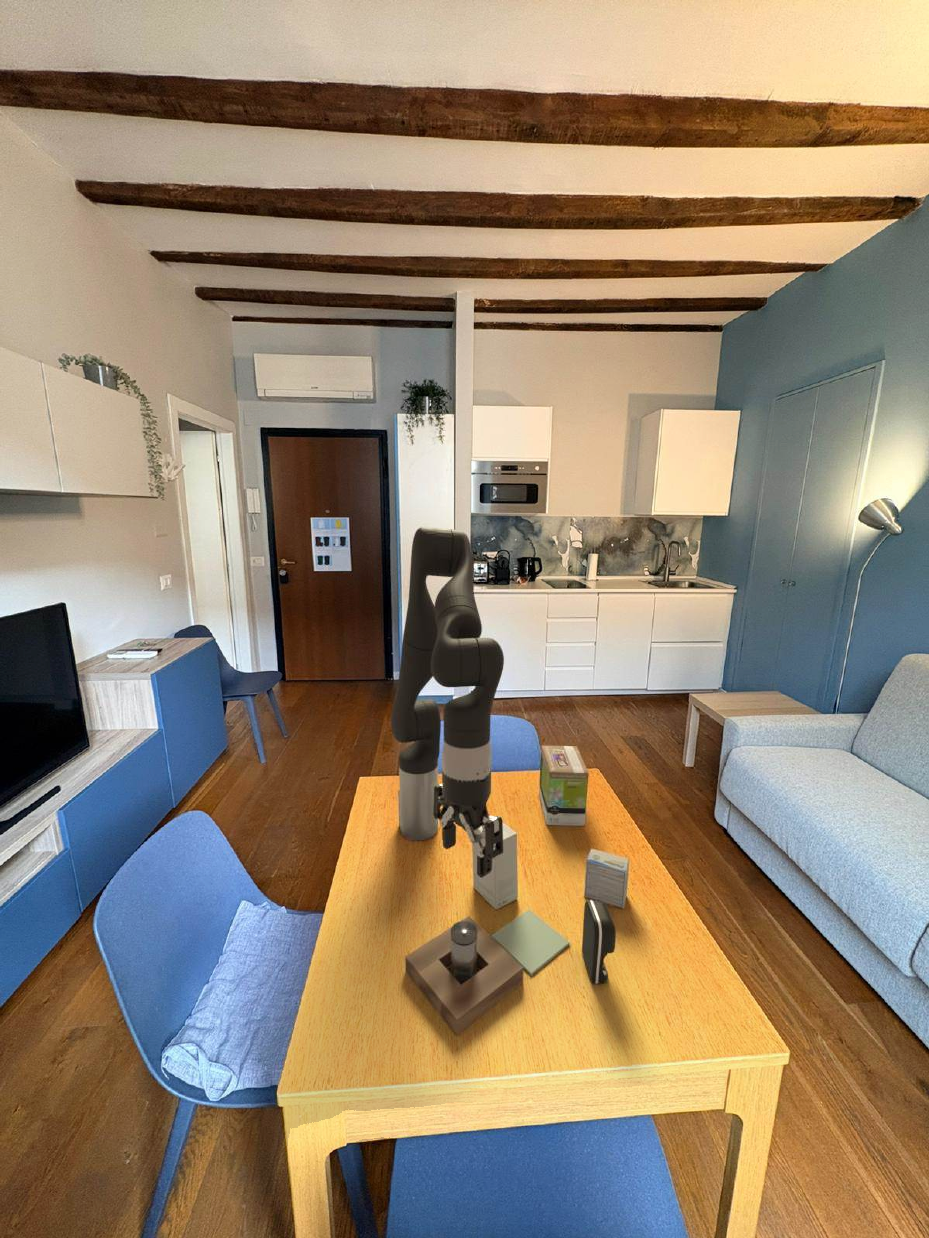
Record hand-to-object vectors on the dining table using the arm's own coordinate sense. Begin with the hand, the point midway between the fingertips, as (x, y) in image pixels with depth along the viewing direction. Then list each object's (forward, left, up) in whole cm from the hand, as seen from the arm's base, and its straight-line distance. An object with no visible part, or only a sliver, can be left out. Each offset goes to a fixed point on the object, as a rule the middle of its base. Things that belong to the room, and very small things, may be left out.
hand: (466, 859), depth 81 cm
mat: (+2, +14, -22) cm, 26 cm away
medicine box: (+4, +34, -23) cm, 41 cm away
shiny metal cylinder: (0, 0, -22) cm, 22 cm away
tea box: (-22, +51, -23) cm, 60 cm away
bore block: (0, 0, -22) cm, 22 cm away
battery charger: (+13, +19, -23) cm, 32 cm away
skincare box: (-11, +17, -23) cm, 30 cm away
